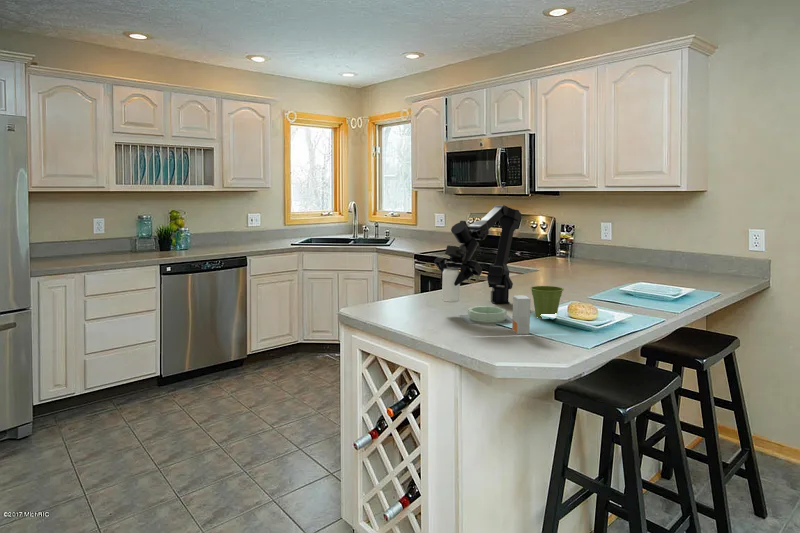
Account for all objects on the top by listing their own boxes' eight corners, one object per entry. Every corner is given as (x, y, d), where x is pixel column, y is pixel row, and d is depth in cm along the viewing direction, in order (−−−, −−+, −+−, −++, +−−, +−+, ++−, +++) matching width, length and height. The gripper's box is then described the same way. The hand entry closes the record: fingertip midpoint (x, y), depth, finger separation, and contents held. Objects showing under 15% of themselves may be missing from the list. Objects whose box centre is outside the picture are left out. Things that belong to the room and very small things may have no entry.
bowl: (499, 314, 207) (499, 305, 206) (510, 322, 194) (510, 313, 193) (464, 315, 205) (464, 306, 205) (473, 323, 192) (473, 314, 192)
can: (459, 302, 201) (459, 270, 200) (441, 302, 202) (441, 269, 201) (460, 299, 208) (460, 267, 206) (442, 298, 209) (443, 267, 207)
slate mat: (505, 314, 207) (505, 313, 207) (517, 323, 194) (517, 322, 194) (458, 316, 205) (458, 314, 205) (467, 325, 191) (467, 323, 191)
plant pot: (562, 316, 206) (564, 286, 204) (562, 323, 195) (563, 291, 193) (530, 313, 209) (531, 284, 208) (527, 320, 198) (528, 289, 197)
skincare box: (511, 330, 184) (512, 295, 183) (524, 330, 185) (525, 295, 183) (516, 335, 178) (518, 298, 177) (529, 335, 179) (531, 298, 177)
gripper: (437, 235, 210) (418, 267, 204) (478, 238, 198) (459, 273, 191) (449, 254, 217) (431, 286, 211) (490, 258, 205) (472, 292, 198)
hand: (447, 284), depth 202 cm, fingers closed on can, 6 cm apart
